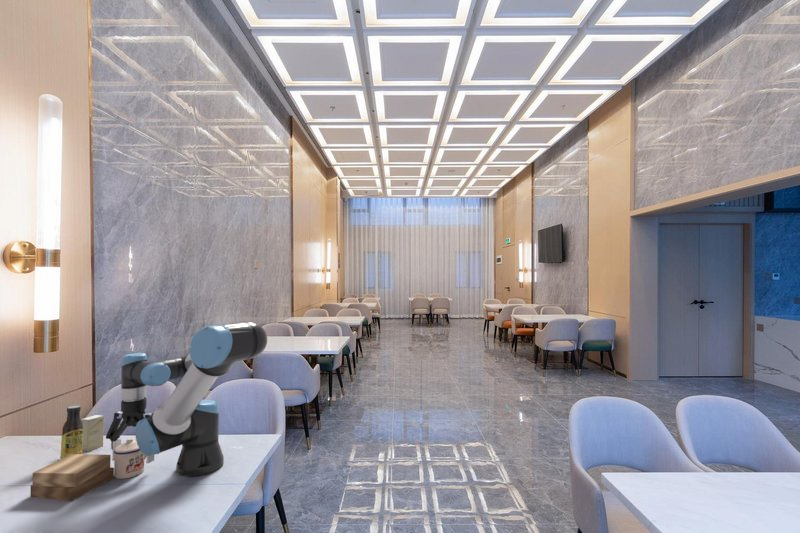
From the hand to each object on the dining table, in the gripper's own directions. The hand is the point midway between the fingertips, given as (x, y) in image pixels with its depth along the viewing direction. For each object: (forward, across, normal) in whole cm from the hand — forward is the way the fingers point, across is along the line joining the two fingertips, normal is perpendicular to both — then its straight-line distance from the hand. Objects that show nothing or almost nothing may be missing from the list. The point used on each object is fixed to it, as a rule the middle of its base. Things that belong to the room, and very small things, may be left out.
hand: (133, 460), depth 146 cm
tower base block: (+4, +10, +13) cm, 17 cm away
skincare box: (+4, +33, -15) cm, 36 cm away
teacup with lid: (+4, 0, 0) cm, 4 cm away
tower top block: (0, +10, +13) cm, 17 cm away
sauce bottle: (+4, +29, -3) cm, 29 cm away
